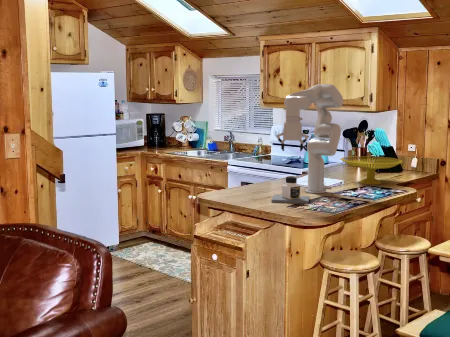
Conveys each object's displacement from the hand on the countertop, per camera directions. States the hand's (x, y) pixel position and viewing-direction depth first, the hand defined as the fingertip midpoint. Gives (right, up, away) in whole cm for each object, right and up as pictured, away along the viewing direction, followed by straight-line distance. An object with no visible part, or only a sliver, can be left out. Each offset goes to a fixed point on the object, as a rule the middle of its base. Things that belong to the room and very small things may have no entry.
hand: (292, 150), depth 326 cm
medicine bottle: (0, -26, +4) cm, 26 cm away
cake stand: (+59, -19, +65) cm, 90 cm away
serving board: (0, -27, +4) cm, 28 cm away
